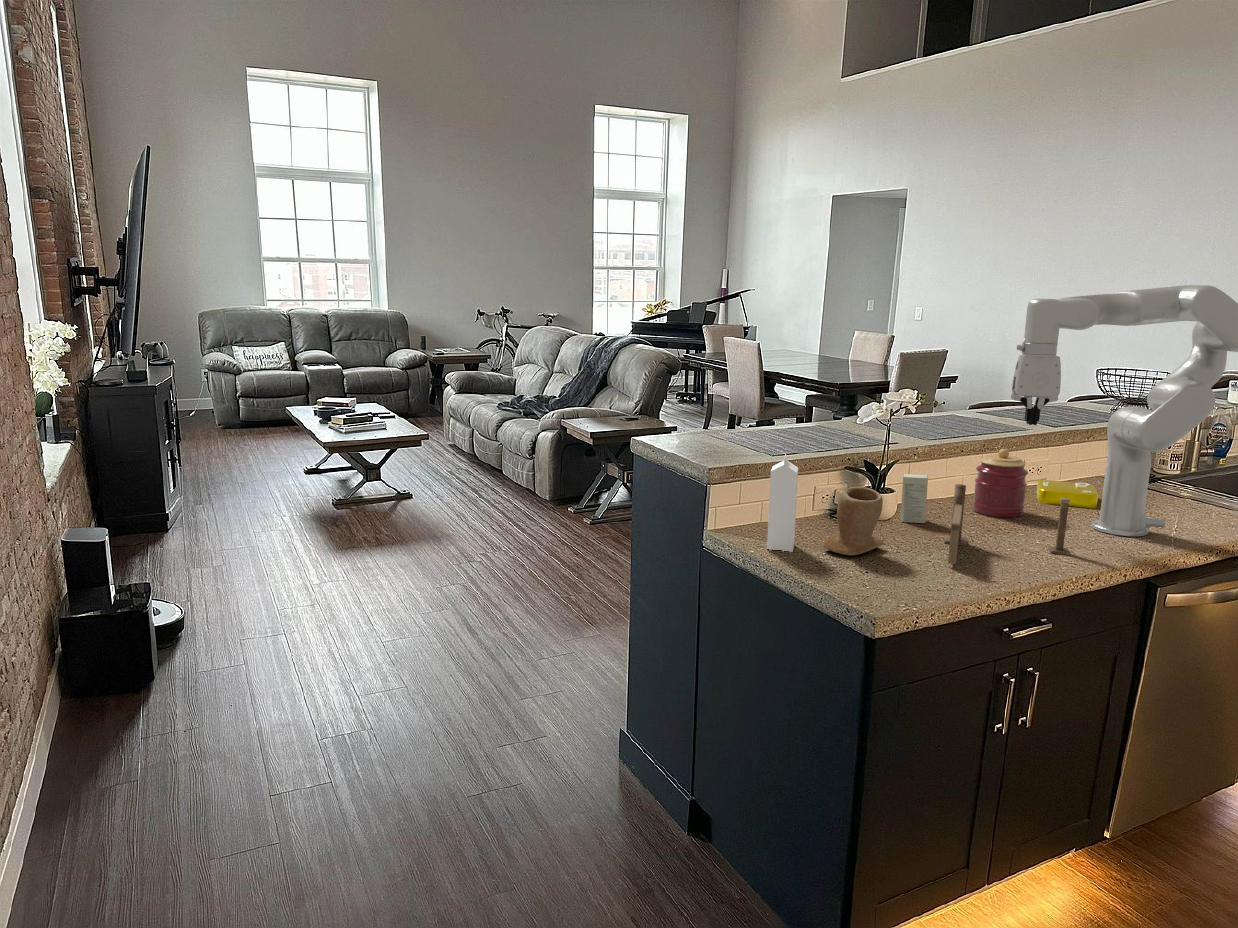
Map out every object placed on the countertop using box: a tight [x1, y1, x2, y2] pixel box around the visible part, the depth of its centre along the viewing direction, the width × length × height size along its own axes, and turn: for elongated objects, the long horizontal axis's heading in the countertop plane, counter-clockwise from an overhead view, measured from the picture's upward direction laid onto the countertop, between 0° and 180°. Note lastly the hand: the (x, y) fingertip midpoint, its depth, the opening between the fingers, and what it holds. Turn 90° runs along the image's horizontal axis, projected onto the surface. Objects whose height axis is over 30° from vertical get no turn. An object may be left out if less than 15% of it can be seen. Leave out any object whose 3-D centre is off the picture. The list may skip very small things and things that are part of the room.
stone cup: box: [822, 486, 885, 556], centre depth 196 cm, size 15×12×15 cm
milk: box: [766, 453, 799, 553], centre depth 197 cm, size 6×6×22 cm
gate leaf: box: [947, 504, 962, 565], centre depth 193 cm, size 20×2×9 cm, turn 157°
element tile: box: [1036, 479, 1099, 509], centre depth 246 cm, size 15×15×5 cm
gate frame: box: [943, 483, 1071, 556], centre depth 200 cm, size 27×5×14 cm, turn 71°
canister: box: [972, 448, 1029, 518], centre depth 231 cm, size 13×13×18 cm
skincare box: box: [900, 473, 929, 524], centre depth 222 cm, size 6×4×12 cm
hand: (1031, 424), depth 211 cm, fingers closed
